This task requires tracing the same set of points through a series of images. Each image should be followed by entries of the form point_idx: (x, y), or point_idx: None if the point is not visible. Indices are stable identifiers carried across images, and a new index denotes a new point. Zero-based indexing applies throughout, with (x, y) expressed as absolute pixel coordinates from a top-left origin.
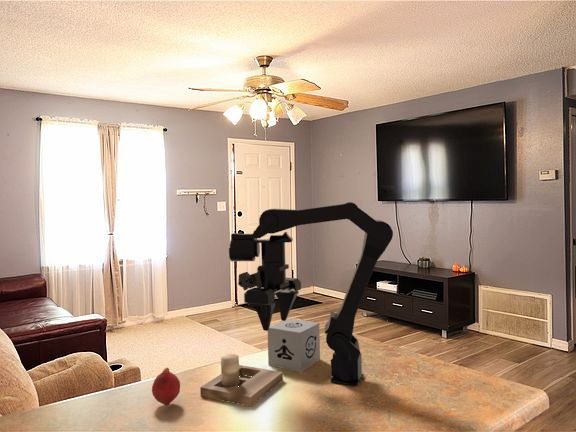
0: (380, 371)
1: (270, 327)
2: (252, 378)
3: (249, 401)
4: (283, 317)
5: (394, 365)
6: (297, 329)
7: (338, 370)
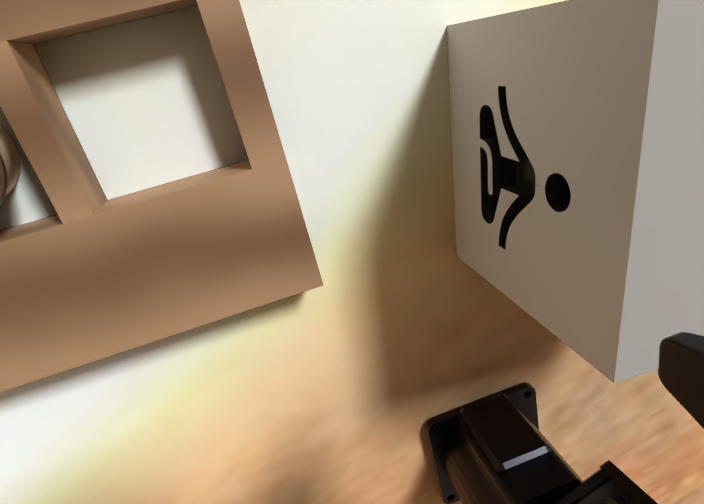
0: (602, 459)
1: (672, 16)
2: (117, 224)
3: None
4: (699, 390)
5: (669, 453)
6: (684, 303)
7: (463, 480)
